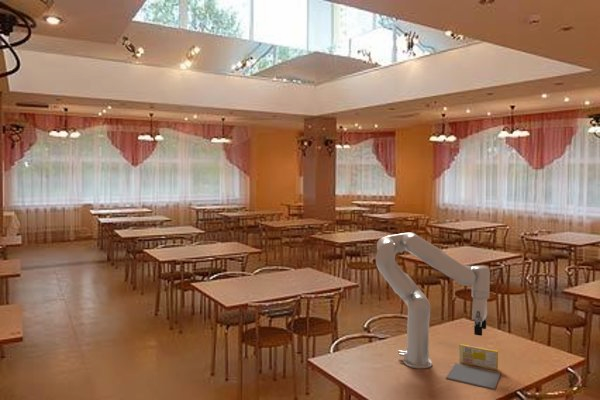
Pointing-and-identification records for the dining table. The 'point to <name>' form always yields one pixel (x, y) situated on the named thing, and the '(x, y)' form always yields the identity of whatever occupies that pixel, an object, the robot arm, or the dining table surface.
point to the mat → (474, 376)
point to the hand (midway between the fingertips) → (480, 331)
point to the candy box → (479, 356)
